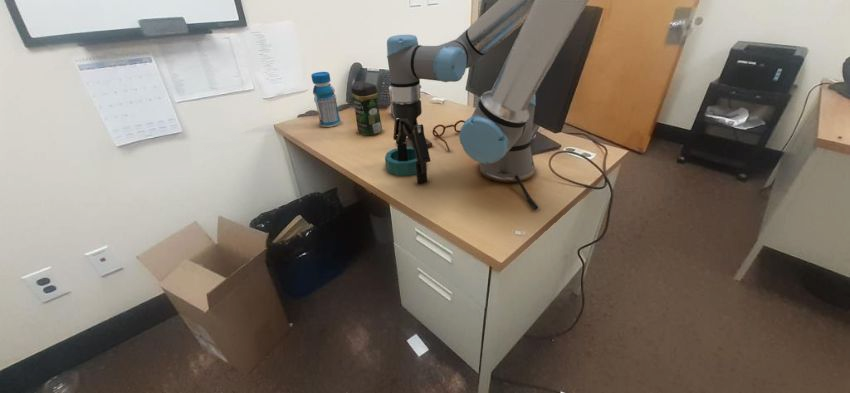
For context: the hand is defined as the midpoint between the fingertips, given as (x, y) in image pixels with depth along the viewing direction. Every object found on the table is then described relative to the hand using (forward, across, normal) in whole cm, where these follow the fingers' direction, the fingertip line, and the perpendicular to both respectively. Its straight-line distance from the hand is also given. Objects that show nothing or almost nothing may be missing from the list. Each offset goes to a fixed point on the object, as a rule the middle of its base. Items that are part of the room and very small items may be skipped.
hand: (412, 172), depth 102 cm
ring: (0, +5, 0) cm, 5 cm away
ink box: (0, +49, -18) cm, 52 cm away
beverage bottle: (0, +57, +11) cm, 58 cm away
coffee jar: (0, +39, 0) cm, 39 cm away
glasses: (0, +13, -23) cm, 26 cm away
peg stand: (0, +18, -9) cm, 20 cm away
